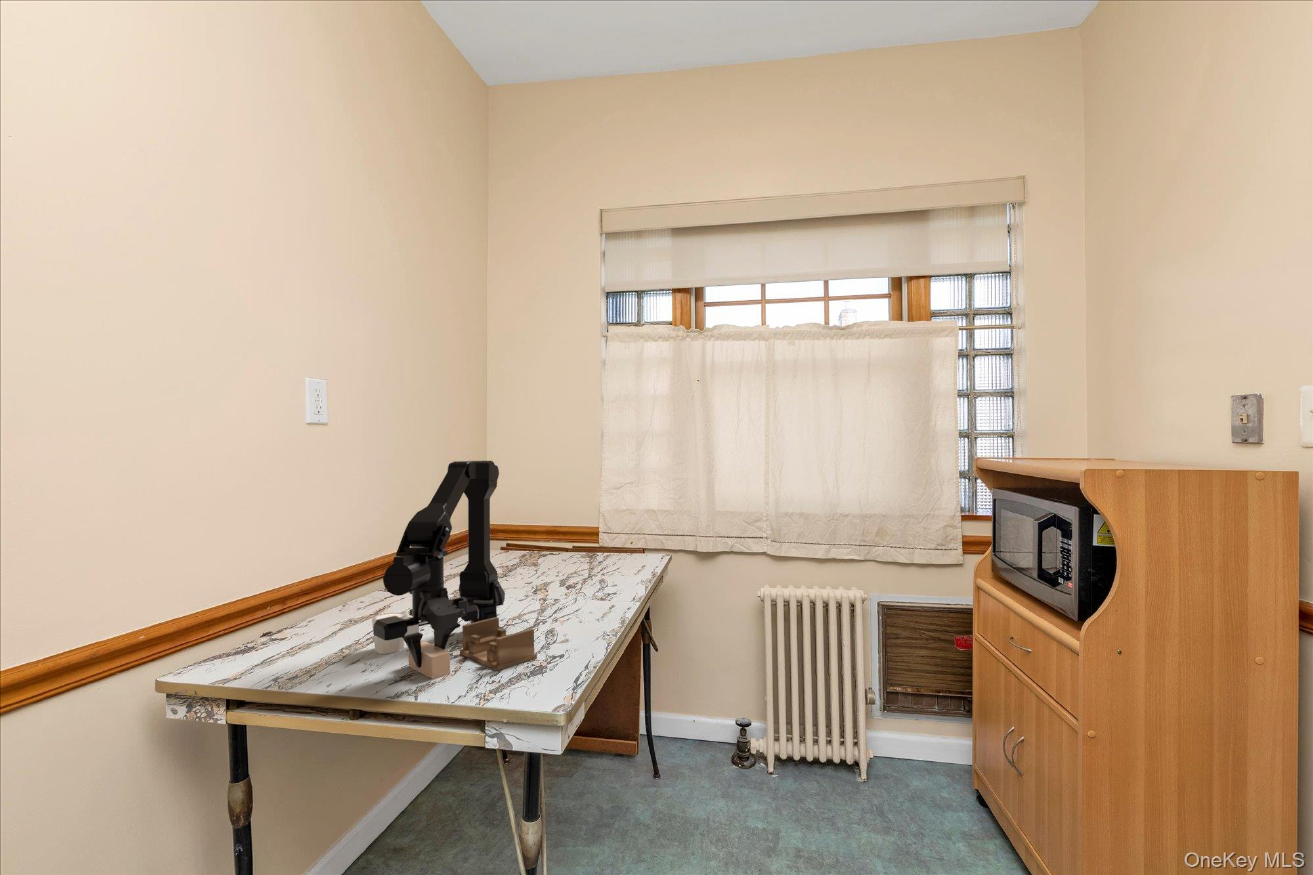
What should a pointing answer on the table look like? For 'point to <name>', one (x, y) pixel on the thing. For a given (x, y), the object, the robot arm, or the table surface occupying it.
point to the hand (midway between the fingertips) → (428, 664)
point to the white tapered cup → (388, 645)
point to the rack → (497, 644)
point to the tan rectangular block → (432, 661)
